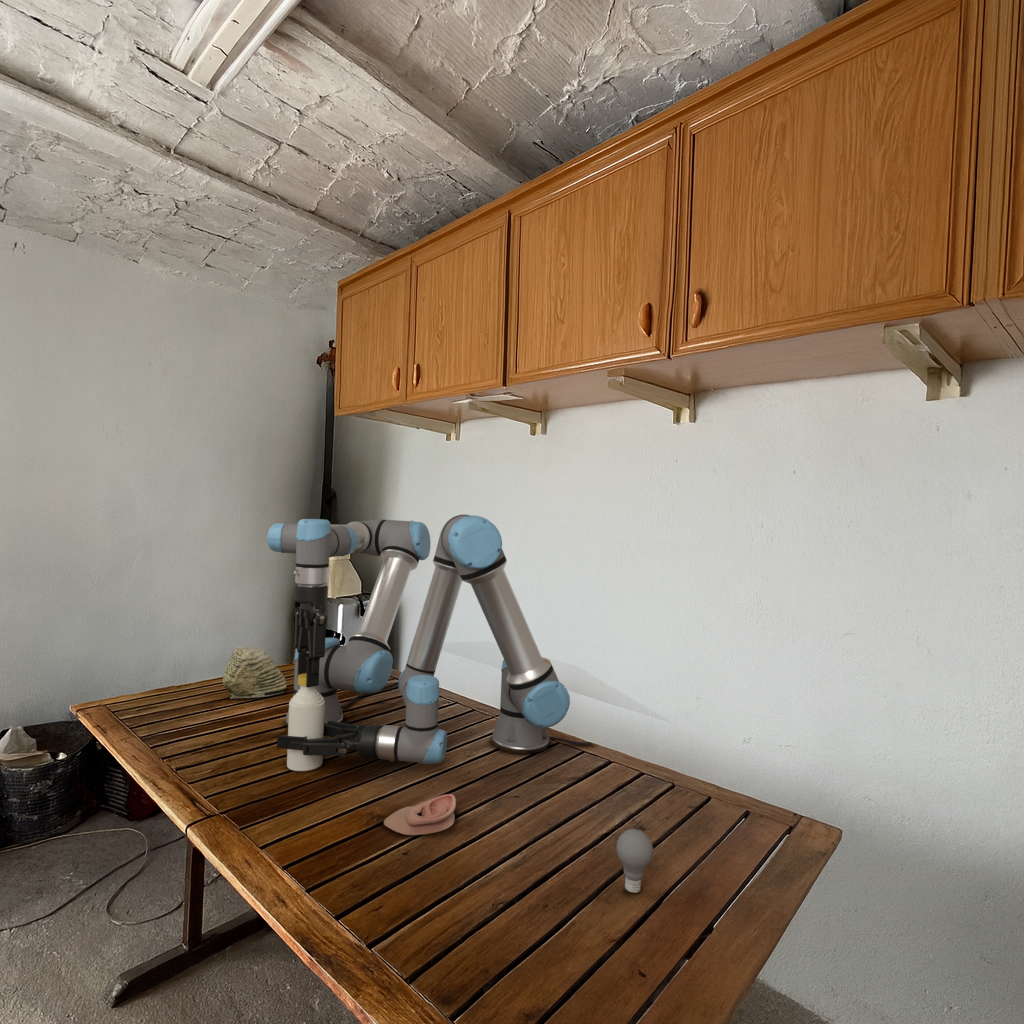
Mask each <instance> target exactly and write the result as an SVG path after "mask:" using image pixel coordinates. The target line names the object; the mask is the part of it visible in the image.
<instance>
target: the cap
mask: <svg viewBox="0 0 1024 1024" xmlns="http://www.w3.org/2000/svg"><path fill="white" fill-rule="evenodd" d="M306 675H307V673H303V674H300V675H298V685H301V686H306Z"/></svg>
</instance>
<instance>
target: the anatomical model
mask: <svg viewBox="0 0 1024 1024" xmlns="http://www.w3.org/2000/svg"><path fill="white" fill-rule="evenodd" d="M456 806H457V798H456V796H455V795H454V794H452V793H447V794H442V795H438V796H435V797H433V798H430V799H427V800H425V801H423V802H420V803H418V804H416V805H411V806H405V807H402V808H400V809H398V810H396V811H394V812H393V813H391V814H390V815H388V816H387V817H386V818H384V821H383V825H384V826H385V827H386V828H388V829H390V830H392V831H393V832H396V833H398V834H401V835H405V836H420V835H429V834H435V833H439V832H442V831H444V830H447V829H449V828H450V827H453V825H454V823H455V819H456V817H455V813H454V812H455V810H456Z"/></svg>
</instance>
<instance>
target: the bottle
mask: <svg viewBox="0 0 1024 1024" xmlns="http://www.w3.org/2000/svg"><path fill="white" fill-rule="evenodd" d="M288 710H289V721H288V727H287V736H296V737H305V736H307V739H318V738H325V737H324V711H325V700H324V698H323V696H321V694H319V692H318V691H317V689H315V686H313V687H306V686H301V685H300V690H298V692H297V693H296V695H294V694H293V695H292V697H291V698H290V701H289V702H288ZM286 750H287V751H286V768H288V769H289V770H290V771H295V772H308V771H312V770H316V769H318V768H319V767H321V766H322V765H323V761H324V760H323V758H324V755H303V750H295V749H286Z"/></svg>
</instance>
